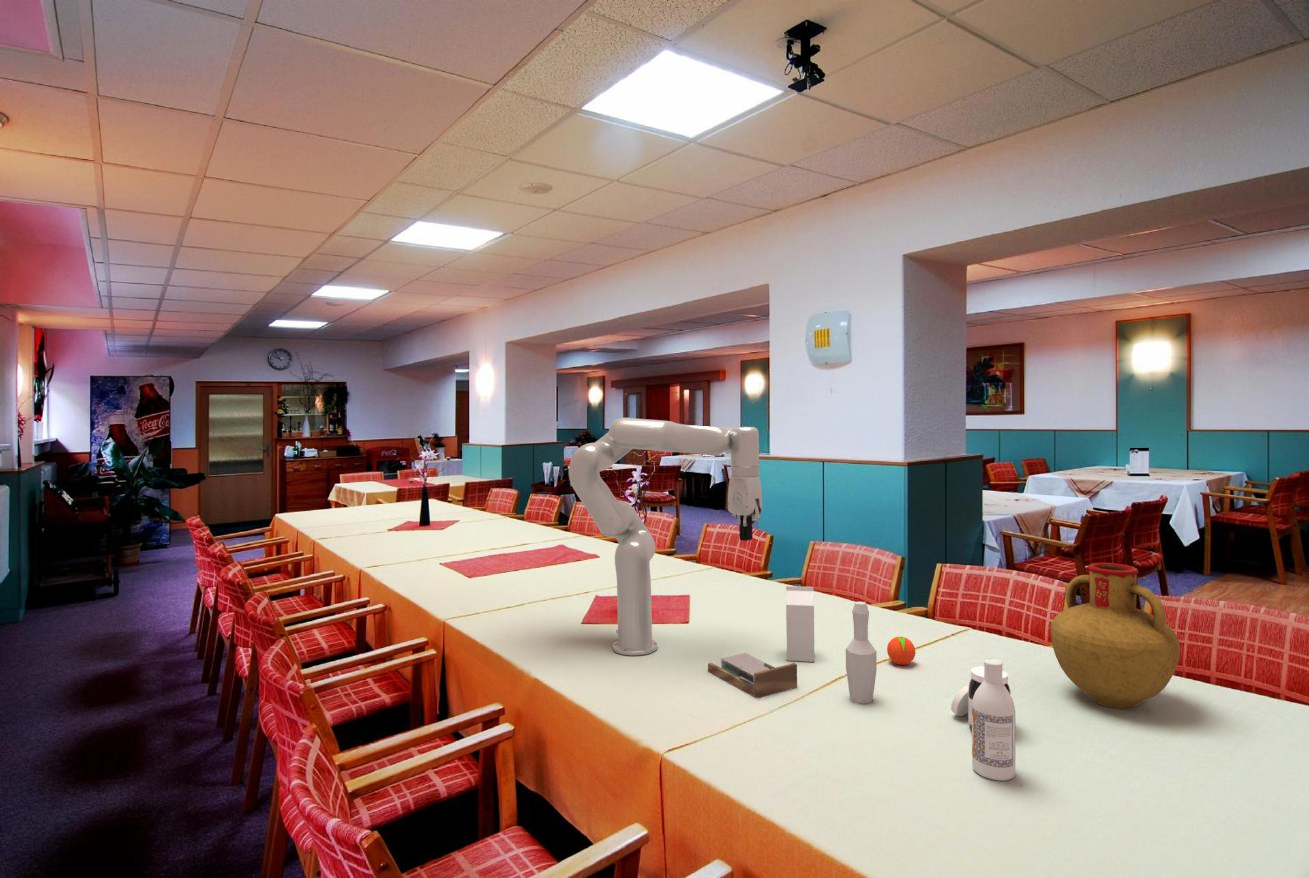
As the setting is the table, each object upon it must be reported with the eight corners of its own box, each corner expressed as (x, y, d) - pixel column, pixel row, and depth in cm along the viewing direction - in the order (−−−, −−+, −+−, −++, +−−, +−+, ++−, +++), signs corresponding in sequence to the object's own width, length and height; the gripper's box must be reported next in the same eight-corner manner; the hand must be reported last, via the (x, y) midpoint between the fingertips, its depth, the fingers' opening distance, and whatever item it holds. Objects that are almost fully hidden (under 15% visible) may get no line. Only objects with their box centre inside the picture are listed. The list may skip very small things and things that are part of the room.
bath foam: (978, 758, 128) (977, 652, 127) (1019, 770, 123) (1019, 660, 123) (967, 773, 123) (966, 662, 122) (1009, 786, 118) (1009, 671, 118)
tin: (721, 671, 174) (721, 658, 174) (745, 666, 178) (745, 652, 178) (738, 681, 168) (738, 667, 168) (763, 675, 171) (763, 661, 171)
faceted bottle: (861, 707, 151) (860, 608, 150) (840, 697, 157) (840, 601, 156) (882, 701, 154) (881, 604, 153) (861, 691, 160) (860, 597, 159)
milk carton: (814, 662, 179) (813, 590, 178) (786, 661, 180) (786, 589, 180) (813, 653, 186) (813, 583, 185) (787, 651, 187) (786, 583, 187)
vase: (1026, 690, 158) (1026, 561, 158) (1095, 673, 168) (1095, 552, 167) (1133, 733, 137) (1134, 584, 136) (1205, 711, 146) (1206, 571, 145)
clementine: (918, 671, 172) (918, 642, 172) (889, 669, 173) (889, 641, 173) (912, 659, 180) (912, 633, 179) (885, 658, 181) (885, 631, 181)
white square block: (738, 681, 168) (738, 667, 167) (763, 675, 171) (763, 661, 171) (758, 692, 161) (758, 677, 161) (783, 685, 165) (783, 671, 165)
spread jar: (1008, 743, 134) (1008, 684, 133) (946, 730, 140) (945, 673, 139) (1013, 719, 144) (1013, 664, 143) (955, 708, 150) (955, 655, 149)
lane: (707, 670, 174) (707, 649, 174) (745, 661, 180) (745, 640, 180) (757, 698, 157) (756, 673, 157) (797, 687, 163) (796, 663, 163)
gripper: (717, 471, 190) (718, 537, 190) (751, 475, 177) (752, 545, 177) (739, 470, 194) (740, 534, 194) (773, 473, 181) (774, 542, 181)
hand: (746, 539), depth 186 cm, fingers closed
